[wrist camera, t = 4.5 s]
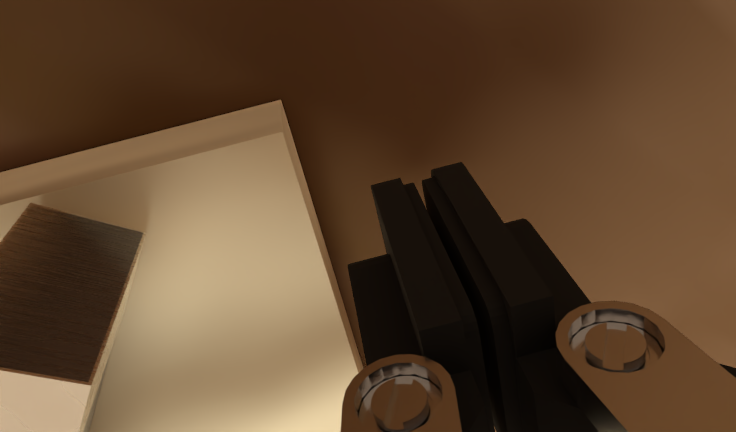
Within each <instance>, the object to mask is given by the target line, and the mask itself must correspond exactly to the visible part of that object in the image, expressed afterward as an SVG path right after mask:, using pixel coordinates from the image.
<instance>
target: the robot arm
mask: <svg viewBox="0 0 736 432" xmlns="http://www.w3.org/2000/svg"><path fill="white" fill-rule="evenodd" d="M431 177H432V178H429V179H425V180H422V186H423V192H424V197H425V203H426V208H427V210H426V208H425V206H424V203H423V201H422V199H421V197H420V195H419V193H418V191H417V189H416V187H415V184H414V183H410V184H406V185H403V183H402V181H401V179H400V178H398V179H394V180H390V181H386V182H382V183H379V184H375V185H371V189H372V194H373V198H374V202H375V206H376V210H377V214H378V219H379V223H380V227H381V231H382V235H383V239H384V243H385V247H386V252H387V254H386V255H382V256H378V257H374V258H370V259H366V260H363V261H359V262H355V263H351V264H348V270H349V276H350V281H351V286H352V291H353V296H354V302H355V307H356V312H357V317H358V322H359V327H360V333H361V338H362V343H363V348H364V353H365V358H366V364H367V366H366V367H365V368H364V369H362V370H361V371H360V372H359V373H358V374H357V375H356V376H355V377H354V378H353V379H352V381H351V382H350V384H349V386H348V387H347V389H346V391H345V395H344V399H343V403H342V417H341V432H495V429H496V431H497V432H736V368H733V367H729V366H726V365H722V364H719V363H717V362H716V361H715V360H713V359H712V358H711V357H710V356H709V355H707V354H706V353H705V352H704V351H703V350H701V349H700V348H699V347H698V346H697V345H695V344H694V343H693V342H692V341H691V340H689V339H688V338H687V337H686V336H684V335H683V334H682V333H681V332H680V331H678V330H677V329H676V328H675V327H674V326H672V325H671V324H670V323H669V322H668V321H666V320H665V319H664V318H662V317H661V316H659V315H658V314H656V313H654V312H653V311H651V310H650V309H647V308H644V307H641V306H638V305H636V304H633V303H626V302H619V301H600V302H594V303H591V302H590V301H589V299H588V298H587V297H586V296H585V294H584V293H583V292H582V290H581V289H580V288H579V286H578V285H577V284H576V282H575V281H574V280H573V279H572V277H571V276H570V275H569V273H568V272H567V271H566V269H565V268H564V267H563V265H562V264H561V263H560V262H559V260H558V259H557V258H556V256H555V255H554V254H553V252H552V251H551V250H550V248H549V247H548V246H547V245H546V243H545V242H544V241H543V239H542V238H541V237H540V235H539V234H538V233H537V231H536V230H535V229H534V228H533V226H532V225H531V224H530V223H529V222H528V221H527V220H526V219H519V220H515V221H512V222H508V223H503V221H502V220H501V218H500V217H499V215H498V214H497V212H496V211H495V209H494V208H493V207H492V205H491V204H490V202H489V201H488V199H487V198H486V196H485V195H484V193H483V192H482V191H481V189H480V188H479V186H478V185H477V183H476V182H475V180H474V179H473V177H472V176H471V175H470V173H469V172H468V170H467V169H466V167H465V166H464V164H463V163H462V162H459V163H455V164H452V165H448V166H444V167H440V168H436V169H432V170H431ZM494 426H495V429H494Z"/></svg>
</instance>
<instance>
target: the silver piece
mask: <svg viewBox="0 0 736 432" xmlns="http://www.w3.org/2000/svg"><path fill="white" fill-rule="evenodd" d="M145 236H146V232H145V231H141V230H137V229H133V228H129V227H125V226H121V225H117V224H113V223H109V222H105V221H101V220H97V219H93V218H89V217H85V216H82V215H78V214H74V213H70V212H66V211H62V210H58V209H54V208H50V207H46V206H42V205H38V204H34V203H30V204H29V205H28V206H27V208H26V209H25V210H24V212H23V213H22V214H21V216H20V217H19V218H18V219H17V221H16V222H15V223H14V225H13V226H12V227H11V229H10V230H9V231H8V233H7V234H6V235H5V236H4V238H3V239H2V240H1V242H0V432H89V430H90V426H91V423H92V419H93V415H94V412H95V408H96V404H97V401H98V397H99V393H100V390H101V386H102V382H103V379H104V375H105V371H106V368H107V364H108V360H109V357H110V353H111V349H112V346H113V343H114V340H115V338H116V335H117V332H118V329H119V326H120V323H121V320H122V317H123V314H124V311H125V308H126V305H127V301H128V297H129V294H130V290H131V287H132V283H133V279H134V276H135V272H136V269H137V265H138V261H139V258H140V254H141V250H142V247H143V243H144V240H145Z"/></svg>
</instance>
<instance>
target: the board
mask: <svg viewBox="0 0 736 432" xmlns="http://www.w3.org/2000/svg"><path fill="white" fill-rule="evenodd" d="M30 203H34V204H38V205H42V206H46V207H50V208H54V209H58V210H62V211H66V212H70V213H74V214H78V215H82V216H85V217H89V218H93V219H97V220H101V221H105V222H109V223H113V224H117V225H121V226H125V227H129V228H133V229H137V230H141V231H145V232H146V236H145V240H144V243H143V247H142V250H141V254H140V258H139V261H138V265H137V269H136V272H135V276H134V279H133V283H132V287H131V290H130V294H129V297H128V301H127V305H126V308H125V311H124V314H123V317H122V320H121V323H120V326H119V329H118V332H117V335H116V338H115V340H114V343H113V346H112V349H111V353H110V357H109V360H108V364H107V368H106V371H105V375H104V379H103V382H102V386H101V390H100V393H99V397H98V401H97V404H96V408H95V412H94V415H93V419H92V423H91V426H90V430H89V432H341V417H342V403H343V399H344V395H345V391H346V389H347V387H348V386H349V384H350V382H351V381H352V379H353V378H354V377H355V376H356V375H357V374H358V373H359V372H360V371H361V370H362V369H363V366H362V362H361V359H360V356H359V352H358V349H357V346H356V343H355V339H354V336H353V333H352V330H351V326H350V323H349V320H348V317H347V313H346V310H345V307H344V304H343V300H342V297H341V294H340V291H339V287H338V284H337V281H336V277H335V274H334V271H333V268H332V264H331V261H330V258H329V255H328V251H327V248H326V245H325V242H324V238H323V235H322V232H321V229H320V225H319V222H318V219H317V216H316V212H315V209H314V206H313V202H312V199H311V196H310V193H309V189H308V186H307V183H306V180H305V176H304V173H303V170H302V167H301V163H300V160H299V157H298V154H297V150H296V147H295V144H294V141H293V137H292V134H291V131H290V127H289V124H288V121H287V118H286V114H285V111H284V108H283V105H282V101H281V100H277V101H273V102H269V103H266V104H262V105H258V106H254V107H250V108H246V109H242V110H239V111H235V112H231V113H227V114H223V115H219V116H215V117H212V118H208V119H204V120H200V121H196V122H192V123H188V124H185V125H181V126H177V127H173V128H169V129H165V130H161V131H158V132H154V133H150V134H146V135H142V136H138V137H134V138H131V139H127V140H123V141H119V142H115V143H111V144H108V145H104V146H100V147H96V148H92V149H88V150H84V151H81V152H77V153H73V154H69V155H65V156H61V157H57V158H54V159H50V160H46V161H42V162H38V163H34V164H30V165H27V166H23V167H19V168H15V169H11V170H7V171H3V172H0V242H1V240H2V239H3V238H4V236H5V235H6V234H7V233H8V231H9V230H10V229H11V227H12V226H13V225H14V223H15V222H16V221H17V219H18V218H19V217H20V216H21V214H22V213H23V212H24V210H25V209H26V208H27V206H28V205H29V204H30Z"/></svg>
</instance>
